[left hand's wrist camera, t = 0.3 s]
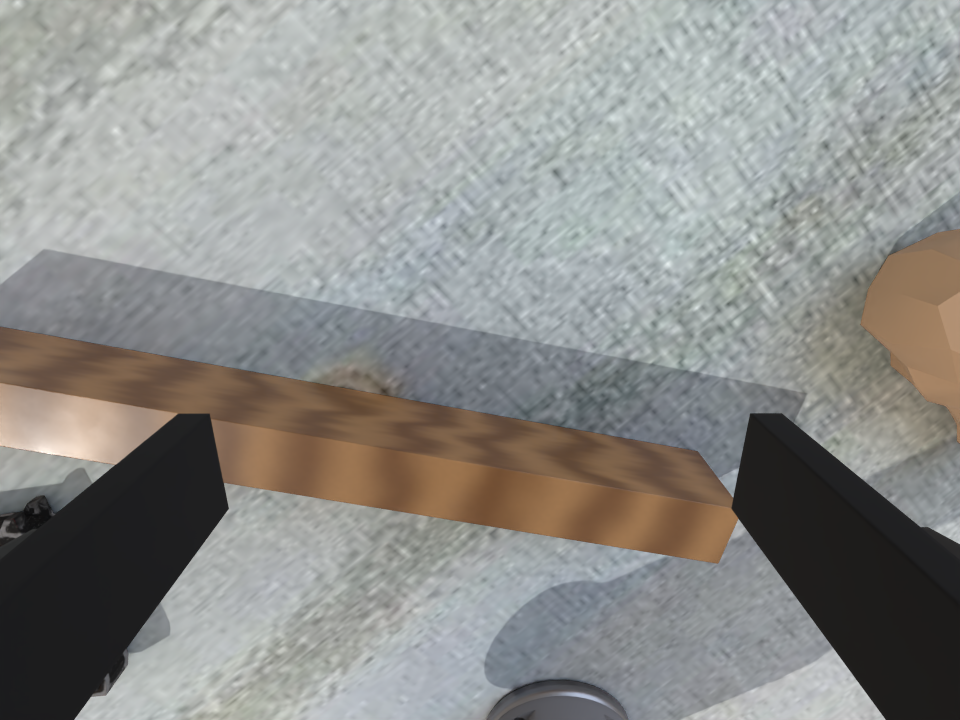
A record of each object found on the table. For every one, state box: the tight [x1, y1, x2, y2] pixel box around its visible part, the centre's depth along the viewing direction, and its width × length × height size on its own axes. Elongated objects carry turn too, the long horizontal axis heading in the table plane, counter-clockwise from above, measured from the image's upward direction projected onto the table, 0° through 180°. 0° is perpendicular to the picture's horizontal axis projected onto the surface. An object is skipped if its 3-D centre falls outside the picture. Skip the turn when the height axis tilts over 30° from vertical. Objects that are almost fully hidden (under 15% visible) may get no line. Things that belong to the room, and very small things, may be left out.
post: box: [0, 327, 738, 564], centre depth 39 cm, size 59×5×8 cm, turn 79°
